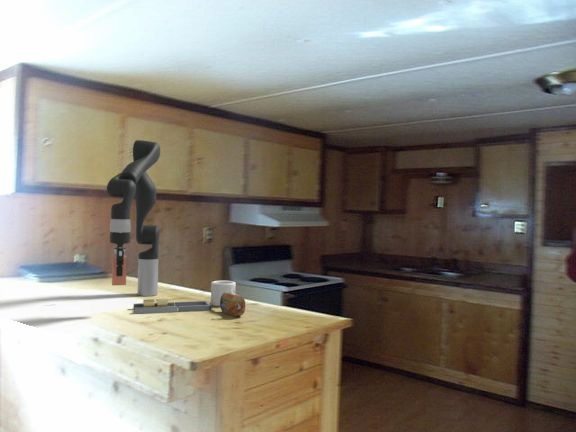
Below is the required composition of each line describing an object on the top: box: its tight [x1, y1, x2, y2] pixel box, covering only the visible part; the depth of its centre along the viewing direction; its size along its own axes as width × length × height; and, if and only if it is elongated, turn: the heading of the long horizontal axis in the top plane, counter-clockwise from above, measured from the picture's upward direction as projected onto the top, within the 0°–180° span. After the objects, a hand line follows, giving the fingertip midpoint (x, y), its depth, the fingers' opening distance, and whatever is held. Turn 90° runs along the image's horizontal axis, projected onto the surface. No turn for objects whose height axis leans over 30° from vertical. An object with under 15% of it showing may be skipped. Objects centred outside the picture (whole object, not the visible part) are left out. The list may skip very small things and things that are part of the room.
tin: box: [220, 293, 246, 317], centre depth 195 cm, size 15×3×8 cm, turn 40°
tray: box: [174, 300, 213, 313], centre depth 199 cm, size 10×13×3 cm
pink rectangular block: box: [111, 255, 128, 286], centre depth 189 cm, size 4×5×11 cm
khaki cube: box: [155, 298, 169, 307], centre depth 195 cm, size 4×4×4 cm
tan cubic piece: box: [142, 299, 156, 307], centre depth 193 cm, size 4×4×4 cm
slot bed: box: [132, 301, 179, 315], centre depth 194 cm, size 10×16×3 cm, turn 112°
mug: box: [210, 280, 237, 308], centre depth 216 cm, size 14×11×10 cm
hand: (119, 275), depth 189 cm, fingers closed on pink rectangular block, 3 cm apart
